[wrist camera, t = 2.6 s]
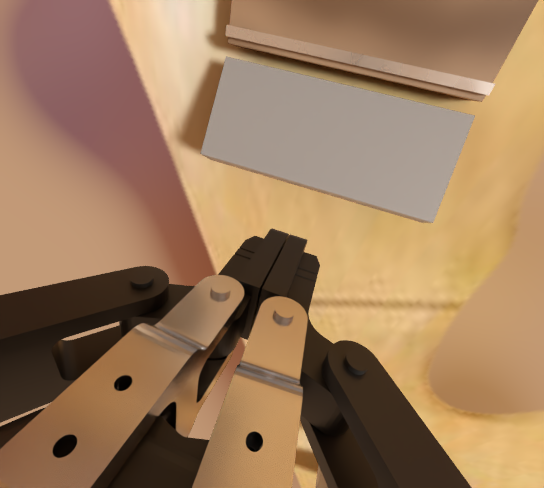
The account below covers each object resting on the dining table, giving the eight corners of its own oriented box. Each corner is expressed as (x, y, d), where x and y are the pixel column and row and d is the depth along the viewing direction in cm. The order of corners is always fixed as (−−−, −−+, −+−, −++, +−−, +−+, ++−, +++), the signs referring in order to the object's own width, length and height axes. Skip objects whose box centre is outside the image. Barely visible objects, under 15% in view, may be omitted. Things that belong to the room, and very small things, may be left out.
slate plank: (234, 71, 21) (226, 56, 19) (458, 126, 19) (474, 115, 17) (210, 159, 22) (200, 153, 20) (422, 222, 20) (433, 222, 18)
